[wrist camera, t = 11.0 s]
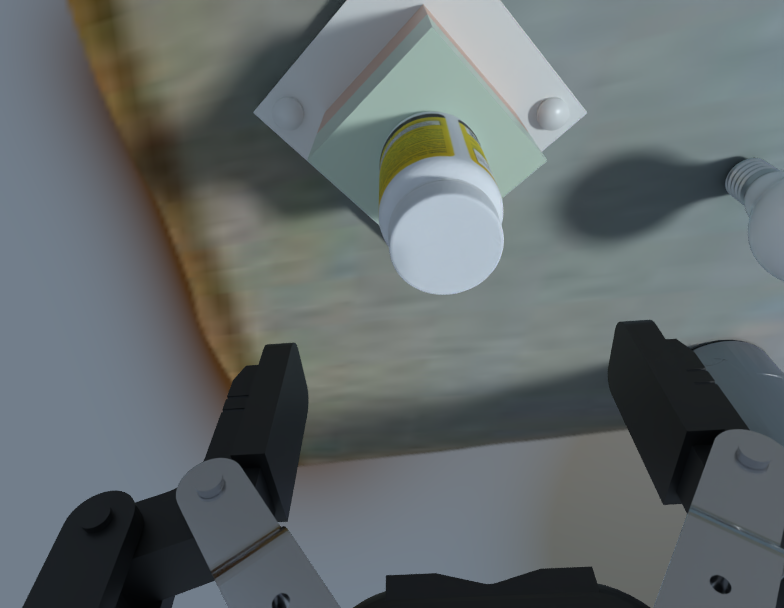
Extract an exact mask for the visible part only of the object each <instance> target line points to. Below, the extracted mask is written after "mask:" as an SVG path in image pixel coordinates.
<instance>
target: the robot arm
mask: <svg viewBox="0 0 784 608" xmlns="http://www.w3.org/2000/svg"><path fill="white" fill-rule="evenodd" d="M608 383H609V388H610V391H611V394H612V396H613V398H614V400H615V402H616V405H617V407H618V409H619V411H620V413H621V415H622V417H623V420H624V422H625V424H626V426H627V428H628V430H629V432H630V435H631V436H632V439H633V441H634V443H635V445H636V447H637V450H638V452H639V454H640V456H641V458H642V460H643V462H644V464H645V467H646V469H647V471H648V473H649V475H650V477H651V479H652V482H653V484H654V486H655V488H656V490H657V492H658V494H659V497H660V499H661V501H662V503H663V505H668V504H683V506H684V508H685V510H686V512H687V517H686V519H685V522H684V525H683V527H682V530H681V533H680V536H679V538H678V542H677V544H676V547H675V550H674V552H673V555H672V558H671V560H670V563H669V566H668V569H667V572H666V574H665V577H664V580H663V583H662V585H661V588H660V591H659V594H658V596H657V599H656V602H655V604H654V607H653V608H784V373H783V372H782V371H781V370H780V369H779V368H778V367H777V365H776V364H775V363H774V362H773V361H772V360H771V359H770V357H769V356H768V355H767V354H766V353H765V352H764V351H763V350H762V349H760V348H759V347H757V346H755V345H753V344H750V343H747V342H740V341H722V342H717V343H712V344H708V345H705V346H702V347H699V348H697V349H695V350H693V351H692V350H691V349H690V348H688V347H687V346H685V345H684V344H682V343H681V342H680V341H678V340H677V339H665V338H664V336H663V335H662V333H661V332H660V330H659V329H658V327H657V326H656V324H655V323H654V322H653V321H652V320H640V321H625V322H619V323H618V324H617V325H616V328H615V333H614V339H613V344H612V350H611V355H610V361H609V366H608ZM227 397H228V399H226V401H225V404H224V407H223V412H222V413H221V415H220V418H219V421H218V423H217V426H216V429H215V432H214V435H213V438H212V440H211V443H210V446H209V449H208V451H207V454H206V457H205V459H204V462H202V463H200V464H198V465H197V466H195V467H194V468H192V469H191V470H190V471H188V472H187V474H186V475H185V476H184V477H183V478H182V480H181V481H180V483H179V485H178V487H177V488H176V489H174V490H171V491H169V492H166V493H163V494H160V495H158V496H154V497H151V498H148V499H145V500H142V501H139V502H136V503H135V502H134V500H133V498H132V497H131V496H130V495H129V494H127V493H125V492H122V491H108V492H103V493H100V494H98V495H95V496H93V497H91V498H89V499H87V500H86V501H84V502H83V503H82V504H80V505H79V506H78V507H77V508H76V509H75V510H74V511H73V512H72V513H71V514H70V515H69V517H68V518H67V520H66V521H65V523H64V525H63V527H62V529H61V531H60V533H59V535H58V537H57V539H56V541H55V543H54V545H53V547H52V549H51V551H50V553H49V555H48V557H47V559H46V561H45V563H44V565H43V567H42V569H41V571H40V573H39V575H38V577H37V579H36V581H35V583H34V585H33V587H32V589H31V591H30V593H29V595H28V597H27V599H26V601H25V603H24V606H23V607H22V608H172V605H173V601H174V597H175V595H177V594H180V593H183V592H185V591H188V590H191V589H193V588H196V587H199V586H202V585H204V584H207V583H209V582H212V581H215V582H216V584H217V586H218V587H219V589H220V592H221V594H222V596H223V598H224V600H225V602H226V604H227V606H228V608H341V607H340V606H339V605H338V603H337V602H336V600H335V598H334V597H333V595H332V594H331V592H330V591H329V590H328V588H327V586H326V585H325V583H324V582H323V580H322V579H321V577H320V576H319V575H318V573H317V572H316V570H315V569H314V567H313V566H312V564H311V563H310V561H309V560H308V558H307V557H306V555H305V554H304V552H303V551H302V549H301V548H300V546H299V545H298V543H297V542H296V540H295V539H294V537H293V536H292V534H291V533H290V532H289V530H288V529H287V528H286V527H284V526H283V527H281V526H280V525H279V524H278V522H287V521H288V517H289V511H290V506H291V500H292V495H293V489H294V484H295V478H296V473H297V467H298V462H299V456H300V451H301V445H302V440H303V434H304V429H305V423H306V418H307V413H308V389H307V384H306V380H305V376H304V372H303V367H302V363H301V359H300V355H299V351H298V347H297V345H296V343H282V344H267V345H265V347H264V349H263V352H262V355H261V359H260V362H259V365H251V366H246V367H245V368H244V369H243V370H242V371H241V372H240V373H239V374H238V375H237V377H236V378H235V379H234V380H233V382H232V385H231V388H230V390H229V393H228V396H227ZM353 608H650V607H648V606H647V605H646V604H644V603H643V602H641V601H639V600H638V599H636V598H634V597H632V596H631V595H629V594H626V593H624V592H622V591H620V590H618V589H615V588H611V587H609V586H606V585H602V584H597V581H596V578H595V575H594V572H593V568H592V567H574V568H551V569H550V568H549V569H539V570H536V571H532V572H529V573H526V574H523V575H520V576H517V577H514V578H510V579H508V580H505V581H501V582H498V583H494V584H483V583H478V582H474V581H469V580H464V579H459V578H455V577H450V576H446V575H441V574H436V573H432V574H411V575H410V574H409V575H387V576H386V591H385V592H382V593H379V594H377V595H374V596H372V597H370V598H368V599H366V600H364V601H363V602H361V603H359V604H358V605H356V606H355V607H353Z"/></svg>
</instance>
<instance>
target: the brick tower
mask: <svg viewBox="0 0 784 608" xmlns="http://www.w3.org/2000/svg"><path fill="white" fill-rule="evenodd" d="M430 111H433V112H443V113H447V114H451V115H453V116H455V117H457V118H459V119H461V120H462V121H463V122H465V123H466V124H467V125H468V126H469V127H470V128H471V129H472V131H473V132H474V133H475V135H476V137H477V139H478V141H479V143H480V145H481V148H482V150H483V152H484V155H485V157H486V159H487V162H488V164H489V167H490V169H491V171H492V174H493V176H494V179H495V181H496V183H497V185H498V188H499V190H500V193H501V197H502V198H503V197H504V196H506V195H507V194H508V193H509V192H510V191H512V190H513V189H514V188H515V187H516V186H518V185H519V184H520V183H521V182H522V181H524V180H525V179H526V178H527V177H528V176H530V175H531V174H532V173H533V172H534V171H535V170H537V169H538V168H539V167H540V166H541V165H543V164H544V163H545V162H546V161H547V159H546V158H545V156H544V155H543V153H542V151H543V150H544V149H545V148H547V147H548V146H549V145H550V144H551V143H552V142H554V141H555V140H556V139H557V138H558V137H560V136H561V135H562V134H563V133H564V132H565V131H567V130H568V129H569V128H570V127H571V126H573V125H574V124H575V123H576V122H577V121H578V120H580V119H581V118H582V117H583V116H584V115H586V114H587V112H586V110H585V109H584V108H583V106H582V105H581V104H580V103H579V101H578V100H577V99H576V97H575V96H574V95H573V94H572V92H571V91H570V90H569V88H568V87H567V86H566V85H565V83H564V82H563V81H562V79H561V78H560V77H559V76H558V74H557V73H556V72H555V70H554V69H553V68H552V67H551V65H550V64H549V63H548V61H547V60H546V59H545V57H544V56H543V55H542V54H541V52H540V51H539V50H538V48H537V47H536V46H535V45H534V43H533V42H532V41H531V39H530V38H529V37H528V36H527V34H526V33H525V32H524V30H523V29H522V28H521V27H520V25H519V24H518V23H517V21H516V20H515V19H514V18H513V16H512V15H511V14H510V12H509V11H508V10H507V9H506V7H505V6H504V5H503V3H502V2H501V1H500V0H346V1H345V3H344V4H343V5H342V6H341V7H340V9H339V10H338V11H337V12H336V13H335V15H334V16H333V17H332V18H331V19H330V21H329V22H328V23H327V24H326V25H325V27H324V28H323V29H322V30H321V31H320V32H319V34H318V35H317V36H316V37H315V38H314V40H313V41H312V42H311V43H310V44H309V46H308V47H307V48H306V49H305V50H304V52H303V53H302V54H301V55H300V56H299V58H298V59H297V60H296V61H295V62H294V64H293V65H292V66H291V67H290V68H289V70H288V71H287V72H286V73H285V74H284V76H283V77H282V78H281V79H280V80H279V82H278V83H277V84H276V85H275V86H274V88H273V89H272V90H271V91H270V92H269V94H268V95H267V96H266V97H265V98H264V100H263V101H262V102H261V103H260V104H259V106H258V107H257V108H256V109H255V111H254V112H253V113H254V114H255V115H256V116H257V117H259V118H260V119H261V120H262V121H263V122H264V123H265V124H266V125H267V126H269V127H270V128H271V129H272V130H273V131H274V132H275V133H276V134H278V135H279V136H280V137H281V138H282V139H283V140H284V141H285V142H287V143H288V144H289V145H290V146H291V147H292V148H293V149H294V150H295V151H297V152H298V153H299V154H300V155H301V156H302V157H303V158H304V159H306V160H307V161H308V162H309V163H310V164H311V165H312V166H313V167H315V168H316V169H317V170H318V171H319V172H320V173H321V174H322V175H323V176H325V177H326V178H327V179H328V180H329V181H330V182H331V183H332V184H334V185H335V186H336V187H337V188H338V189H339V190H340V191H341V192H343V193H344V194H345V195H346V196H347V197H348V198H349V199H350V200H351V201H353V202H354V203H355V204H356V205H357V206H358V207H359V208H360V209H362V210H363V211H364V212H365V213H366V214H367V215H368V216H369V217H370V218H372V219H373V220H374V221H375V222H376V223H377V224H378V225H379V217H378V212H379V165H380V156H381V152H382V148H383V145H384V143H385V141H386V139H387V137H388V135H389V134H390V132H391V131H392V130H393V129H394V128H395V127H396V126H397V125H398V124H399V123H400V122H401V121H403V120H404V119H406V118H408V117H410V116H412V115H414V114H417V113H421V112H430ZM379 226H380V225H379Z"/></svg>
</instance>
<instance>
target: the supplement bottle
mask: <svg viewBox="0 0 784 608" xmlns="http://www.w3.org/2000/svg"><path fill="white" fill-rule="evenodd" d="M378 217H379V225H380V229H381V233H382V235H383V238H384V240H385V242H386V243H387V245H388V246H389V252H390V257H391V261H392V263H393V266H394V268H395V270H396V271H397V272H398V274H399V275H400V276H401V277H402V279H403V280H405V281H406V282H407V283H408V284H410V285H411V286H413V287H415V288H416V289H419V290H421V291H424V292H427V293H431V294H439V295H448V294H455V293H459V292H463V291H466V290H468V289H471V288H473V287H475V286H476V285H478V284H480V283H481V282H482V281H484V280H485V279H486V278H487V277H488V276H489V275H490V274H491V273H492V271H493V270H494V269H495V267H496V266H497V264H498V262H499V260H500V258H501V254H502V251H503V244H504V236H503V230H502V226H501V225H502V220H503V202H502V197H501V193H500V190H499V188H498V185H497V183H496V181H495V179H494V176H493V174H492V171H491V169H490V167H489V164H488V162H487V159H486V157H485V155H484V152H483V150H482V148H481V145H480V143H479V141H478V139H477V137H476V135H475V133H474V132H473V131H472V129H471V128H470V127H469V126H468V125H467V124H466V123H465V122H463V121H462V120H461V119H459V118H457V117H455V116H453V115H451V114H447V113H443V112H433V111H430V112H421V113H417V114H414V115H412V116H410V117H408V118H406V119H404V120H403V121H401V122H400V123H399V124H398V125H397V126H396V127H395V128H394V129H393V130H392V131H391V132H390V134H389V135H388V137H387V139H386V141H385V143H384V145H383V148H382V152H381V156H380V165H379V212H378Z"/></svg>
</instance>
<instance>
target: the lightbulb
mask: <svg viewBox="0 0 784 608" xmlns="http://www.w3.org/2000/svg"><path fill="white" fill-rule="evenodd" d="M725 188H726V190H727V192H728V193H729V194H730V195H731V196H732V197H734V198H735V199H736V200H738V201H739V202H740V203H741V204H742V205H744V207H745V211H746V213H747V215H748V216H749V223H748V241H749V245H750V249H751V251H752V253H753V255H754V257H755V259H756V260H757V262H758V263H759V264H760V265H761V266H762V267H763V268H764V269H765V270H766V271H767V272H768V273H770V274H771V275H772V276H774V277H776V278H777V279H779V280H781V281H784V171H781V170H779V169H777V168H776V167H774V166H773V165H771V164H769V163H768V162H766V161H765V160H763V159H760V158H749V159H746V160H743V161H741V162H740V163H738V164H737V165H735V166H734V167H733V168H732V169H731V171H730V172H729V174H728V175H727V178H726V181H725Z"/></svg>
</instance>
